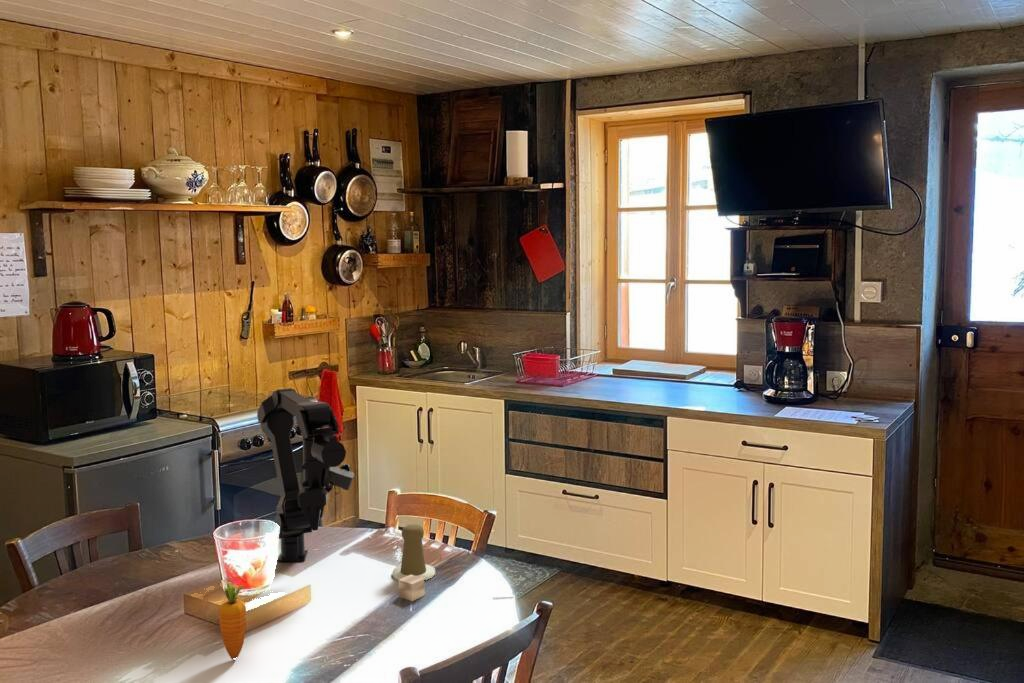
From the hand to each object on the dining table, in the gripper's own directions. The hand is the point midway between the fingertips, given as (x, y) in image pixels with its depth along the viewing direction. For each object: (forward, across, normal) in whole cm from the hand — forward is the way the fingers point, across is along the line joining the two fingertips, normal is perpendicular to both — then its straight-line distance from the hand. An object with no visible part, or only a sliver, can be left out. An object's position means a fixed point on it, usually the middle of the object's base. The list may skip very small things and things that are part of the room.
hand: (317, 523), depth 208 cm
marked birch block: (+13, -13, -22) cm, 28 cm away
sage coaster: (+13, 0, -22) cm, 26 cm away
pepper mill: (+12, 0, -22) cm, 25 cm away
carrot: (+13, -40, +11) cm, 44 cm away
